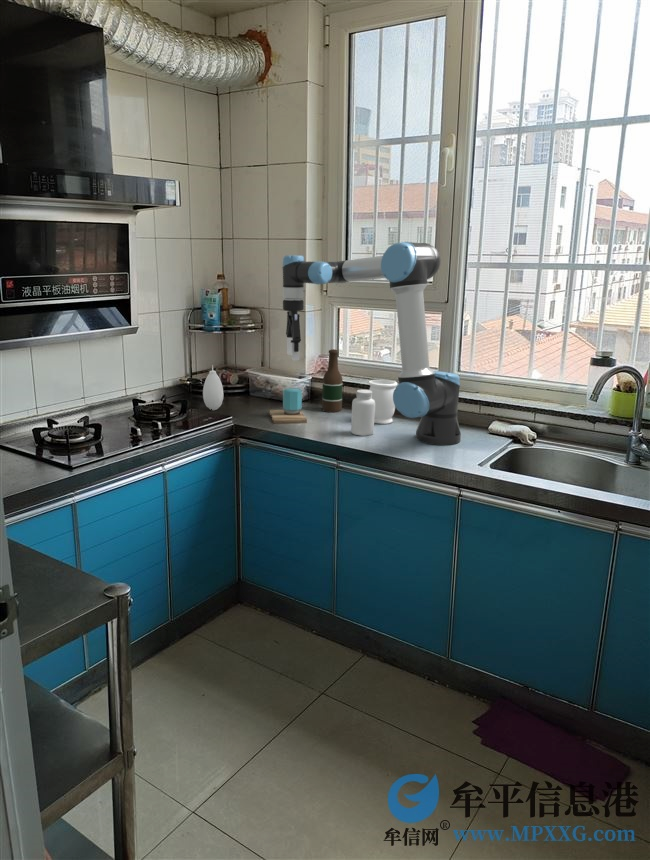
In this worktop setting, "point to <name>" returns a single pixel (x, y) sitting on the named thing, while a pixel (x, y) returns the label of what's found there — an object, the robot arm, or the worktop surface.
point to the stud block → (287, 416)
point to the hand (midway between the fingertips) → (293, 357)
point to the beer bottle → (332, 385)
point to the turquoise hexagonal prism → (292, 399)
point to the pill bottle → (363, 413)
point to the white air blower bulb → (213, 391)
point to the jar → (383, 400)
